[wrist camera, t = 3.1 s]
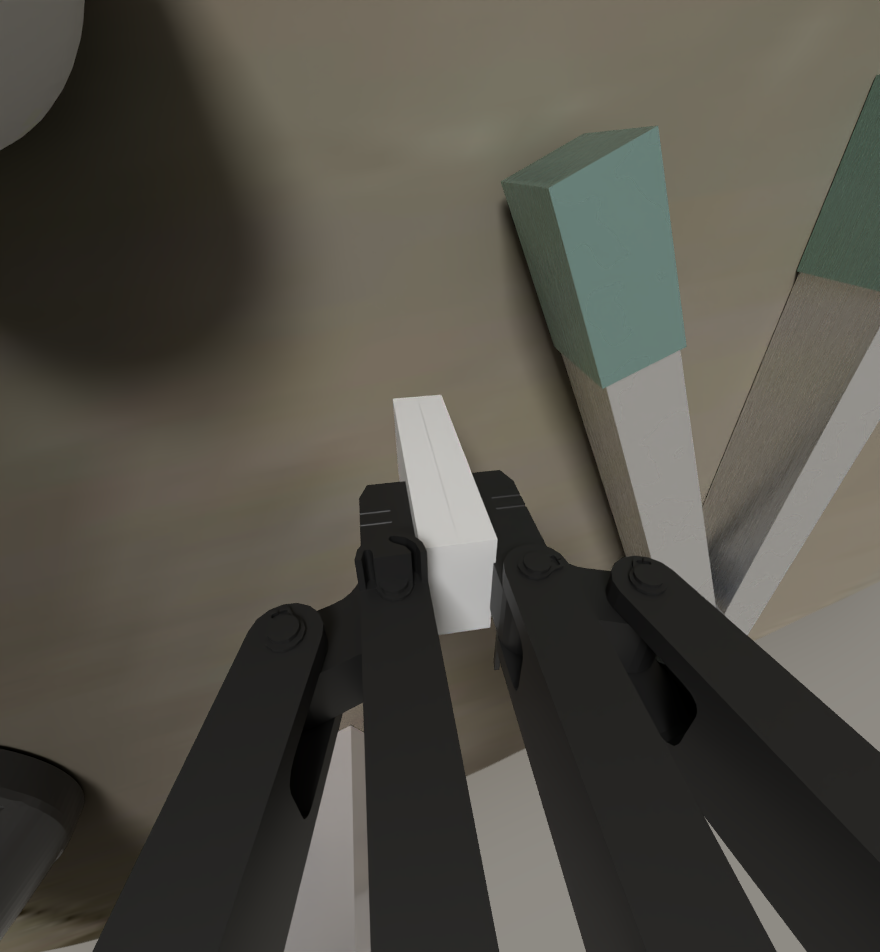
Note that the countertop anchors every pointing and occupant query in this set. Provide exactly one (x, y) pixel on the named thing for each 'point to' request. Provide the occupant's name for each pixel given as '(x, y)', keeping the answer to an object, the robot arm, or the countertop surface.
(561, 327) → the tongs hinged arm
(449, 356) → the countertop surface
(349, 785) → the soap dispenser
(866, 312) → the tongs fixed arm
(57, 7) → the teacup
